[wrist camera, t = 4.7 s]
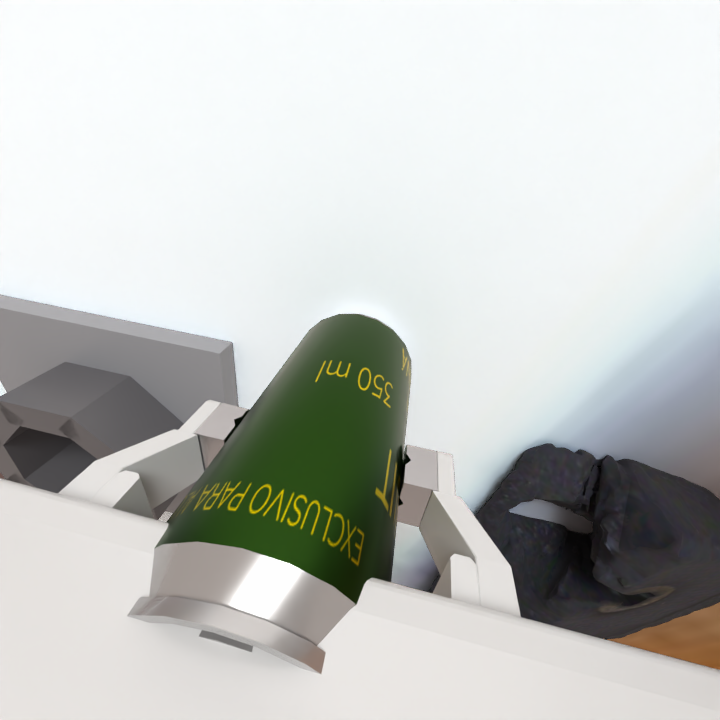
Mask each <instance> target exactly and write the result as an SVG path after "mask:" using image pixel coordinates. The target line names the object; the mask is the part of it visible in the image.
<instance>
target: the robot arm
mask: <svg viewBox="0 0 720 720" xmlns="http://www.w3.org/2000/svg"><path fill="white" fill-rule="evenodd" d="M249 411H250V410H249V409H246V408H242V407H238V406H234V405H230V404H226V403H221V402H217V401H213V400H208V401H206V402H205V403H204V404H203V405H202V406H201V407H200V408H199V409H198V410H197V411H196V412H195V413H194V414H193V415H192V416H191V417H190V418H189V419H188V420H187V421H186V422H185V423H184V425H183V426H182V427H181V428H180V429H179V430H175V429H173V430H171V431H168V432H166V433H163V434H161V435H158V436H156V437H153V438H151V439H148V440H146V441H143V442H141V443H138V444H136V445H133V446H131V447H128V448H126V449H123V450H121V451H119V452H116V453H114V454H111V455H109V456H106V457H104V458H101V459H99V460H96V461H94V462H93V463H92V464H91V465H90V466H89V467H87V468H86V469H85V470H84V471H83V472H82V473H81V474H79V475H78V476H77V477H76V478H75V479H74V480H73V481H71V482H70V483H69V484H68V485H67V486H66V487H65V488H63V489H62V490H61V491H60V492H59V493H54V492H51V491H47V490H43V489H39V488H36V487H32V486H28V485H24V484H21V483H17V482H13V481H9V480H6V479H1V478H0V720H720V670H718V669H714V668H710V667H707V666H703V665H699V664H695V663H692V662H688V661H684V660H680V659H677V658H673V657H669V656H665V655H661V654H658V653H654V652H650V651H646V650H643V649H639V648H635V647H631V646H628V645H624V644H620V643H616V642H613V641H609V640H605V639H601V638H598V637H594V636H590V635H586V634H583V633H579V632H575V631H571V630H568V629H564V628H560V627H556V626H553V625H549V624H545V623H541V622H538V621H534V620H530V619H526V618H523V617H521V615H520V610H519V605H518V600H517V594H516V589H515V584H514V579H513V574H512V569H511V566H510V565H509V563H508V562H507V561H506V559H505V558H504V556H503V555H502V554H501V552H500V551H499V549H498V548H497V547H496V545H495V544H494V543H493V541H492V540H491V538H490V537H489V536H488V534H487V533H486V531H485V530H484V529H483V527H482V526H481V525H480V523H479V522H478V520H477V519H476V518H475V516H474V515H473V513H472V512H471V511H470V509H469V508H468V507H467V505H466V504H465V502H464V501H463V500H462V498H461V497H458V496H456V490H455V477H454V463H453V456H452V454H449V453H444V452H439V451H434V450H430V449H425V448H420V447H416V446H411V445H406V447H405V451H404V457H403V465H402V475H401V485H400V495H399V505H398V516H397V521H399V522H402V523H406V524H410V525H413V526H417V527H419V530H420V532H421V534H422V536H423V538H424V540H425V543H426V545H427V547H428V549H429V551H430V553H431V556H432V558H433V560H434V562H435V564H436V566H437V568H438V571H439V573H440V575H441V577H440V579H439V581H438V583H437V585H436V587H435V589H434V591H433V593H429V592H425V591H422V590H418V589H414V588H410V587H407V586H403V585H399V584H395V583H392V582H388V581H384V580H380V579H377V578H370V579H369V580H367V581H366V583H365V584H364V587H363V589H362V592H361V595H360V597H359V600H358V602H357V605H356V606H354V607H353V608H351V609H350V610H349V611H348V613H347V614H346V615H345V616H344V617H343V618H342V619H341V620H340V621H339V622H338V623H337V625H336V626H335V627H334V628H333V629H332V630H331V631H330V632H329V633H328V634H327V636H326V637H325V638H324V639H323V640H322V641H321V642H320V643H319V644H318V645H317V647H319V648H320V649H322V650H323V651H324V652H326V654H325V659H324V664H323V669H322V674H318V673H315V672H311V671H308V670H305V669H301V668H299V667H297V666H295V665H293V664H291V663H289V662H287V661H284V660H282V659H280V658H278V657H276V656H274V655H272V654H270V653H267V652H265V651H263V650H261V649H259V648H257V647H254V646H253V650H252V652H249V651H245V650H242V649H239V648H235V647H232V646H229V645H225V644H222V643H219V642H215V641H212V640H209V639H205V638H202V637H199V634H200V633H201V631H202V630H199V629H194V628H190V627H185V626H180V625H175V624H165V623H148V622H145V621H141V620H138V619H135V618H131V617H128V616H127V615H128V613H129V612H130V611H131V609H132V608H133V606H134V605H135V603H136V602H137V600H138V599H139V598H140V597H149V593H150V585H151V576H152V568H153V559H154V548H155V547H156V545H157V543H158V542H159V540H160V539H161V537H162V536H163V534H164V533H165V531H166V529H167V527H168V523H167V522H163V521H159V520H155V518H154V516H153V513H152V509H154V508H155V507H157V506H158V505H160V504H161V503H163V502H164V501H166V500H168V499H169V498H171V497H172V496H174V495H175V494H177V493H178V492H180V491H182V490H183V489H185V488H186V487H188V486H189V485H191V484H192V483H194V482H196V481H197V480H198V479H199V478H200V477H201V475H202V474H203V473H204V471H205V470H206V469H207V467H208V466H209V464H210V463H211V462H212V460H213V459H214V458H215V456H216V455H217V454H218V452H219V451H220V450H221V448H222V447H223V446H224V444H225V443H226V442H227V440H228V439H229V438H230V436H231V435H232V434H233V432H234V431H235V430H236V428H237V427H238V425H239V424H240V423H241V421H242V420H243V419H244V417H245V416H246V415H247V413H248V412H249Z"/></svg>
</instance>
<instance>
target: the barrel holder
mask: <svg viewBox="0 0 720 720" xmlns="http://www.w3.org/2000/svg"><path fill="white" fill-rule="evenodd" d="M0 381H1V383H2V384H3V386H4V388H5V390H6V392H7V393H6V394H4V395H2V396H0V472H1V474H2V475H3V477H4V478H5V479H6V480H9V481H13V482H17V483H21V484H24V485H28V486H32V487H36V488H39V489H43V490H47V491H51V492H54V493H59V492H60V491H61V490H62V489H63V488H65V487H66V486H67V485H68V484H69V483H70V482H71V481H73V480H74V479H75V478H76V477H77V476H78V475H79V474H81V473H82V472H83V471H84V470H85V469H86V468H87V467H89V466H90V465H91V464H92V463H93V462H94V461H96V460H99V459H101V458H104V457H106V456H109V455H111V454H114V453H116V452H119V451H121V450H123V449H126V448H128V447H131V446H133V445H136V444H138V443H141V442H143V441H146V440H148V439H151V438H153V437H156V436H158V435H161V434H163V433H166V432H168V431H171V430H173V429H175V430H179V429H180V428H181V427H182V426H183V425H184V423H185V422H186V421H187V420H188V419H189V418H190V417H191V416H192V415H193V414H194V413H195V412H196V411H197V410H198V409H199V408H200V407H201V406H202V405H203V404H204V403H205V402H206V401H208V400H213V401H217V402H221V403H226V404H230V405H234V406H238V399H237V388H236V378H235V367H234V356H233V346H232V342H228V341H223V340H218V339H213V338H208V337H203V336H198V335H193V334H189V333H184V332H179V331H174V330H169V329H164V328H159V327H154V326H149V325H145V324H140V323H135V322H130V321H125V320H120V319H115V318H110V317H105V316H100V315H96V314H91V313H86V312H81V311H76V310H71V309H66V308H61V307H56V306H52V305H47V304H42V303H37V302H32V301H27V300H22V299H17V298H12V297H8V296H3V295H0ZM197 481H198V480H197ZM197 481H196V482H197ZM196 482H194V483H192V484H191V485H189V486H188V487H186V488H185V489H183V490H182V491H180V492H178V493H177V494H175V495H174V496H172V497H171V498H169V499H168V500H166V501H164V502H163V503H161V504H160V505H158V506H157V507H155V508H154V509H152V513H153V516H154V518H155V520H158V519H159V518H160V517H161V515H162V514H163V513H164V511H168V512H172V513H174V512H175V510H176V509H177V508H178V506H179V505H180V503H181V502H182V501H183V499H184V498H185V497H186V495H187V494H188V493H189V491H190V490H191V489H192V487H193V486H194V485H195V483H196Z"/></svg>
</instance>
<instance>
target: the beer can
mask: <svg viewBox="0 0 720 720" xmlns="http://www.w3.org/2000/svg"><path fill="white" fill-rule="evenodd" d="M410 384H411V359H410V356H409V353H408V351H407V348H406V345H405V344H404V342H403V341H402V340H401V339H400V338H399V336H398V335H397V334H396V333H395V332H394V330H392V329H391V328H390V327H388V326H387V325H385V324H384V323H382V322H381V321H379V320H378V319H376V318H372V317H369V316H365V315H362V314H338V315H335V316H332V317H329V318H326V319H323V320H321V321H320V322H319V323H318V324H316V325H315V326H314V327H313V328H311V329H310V330H309V331H308V333H307V334H306V335H305V337H304V338H303V339H302V341H301V342H300V343H299V345H298V346H297V348H296V349H295V350H294V352H293V353H292V354H291V356H290V357H289V358H288V360H287V361H286V362H285V364H284V365H283V366H282V368H281V369H280V370H279V372H278V373H277V374H276V376H275V377H274V378H273V380H272V381H271V382H270V384H269V385H268V387H267V388H266V389H265V391H264V392H263V393H262V395H261V396H260V397H259V399H258V400H257V401H256V403H255V404H254V405H253V407H252V408H251V409H250V411H249V412H248V413H247V415H246V416H245V417H244V419H243V420H242V421H241V423H240V424H239V425H238V427H237V428H236V430H235V431H234V432H233V434H232V435H231V436H230V438H229V439H228V440H227V442H226V443H225V444H224V446H223V447H222V448H221V450H220V451H219V452H218V454H217V455H216V456H215V458H214V459H213V460H212V462H211V463H210V464H209V466H208V467H207V469H206V470H205V471H204V473H203V474H202V475H201V477H200V478H199V479H198V481H197V482H196V483H195V485H194V486H193V487H192V489H191V490H190V491H189V493H188V494H187V495H186V497H185V498H184V499H183V501H182V502H181V503H180V505H179V506H178V508H177V509H176V510H175V512H174V513H173V514H172V516H171V517H170V518H169V520H168V521H167V523H168V527H167V529H166V531H165V533H164V534H163V536H162V537H161V539H160V540H159V542H158V543H157V545H156V547H155V548H154V559H153V568H152V576H151V585H150V593H149V597H140V598H139V599H138V600H137V602H136V603H135V605H134V606H133V608H132V609H131V611H130V612H129V613H128V615H127V616H128V617H131V618H135V619H138V620H141V621H145V622H148V623H165V624H175V625H180V626H185V627H190V628H194V629H199V630H202V631H201V633H200V634H199V637H202V638H205V639H209V640H212V641H215V642H219V643H222V644H225V645H229V646H232V647H235V648H239V649H242V650H245V651H249V652H252V650H253V646H254V647H257V648H259V649H261V650H263V651H265V652H267V653H270V654H272V655H274V656H276V657H278V658H280V659H282V660H284V661H287V662H289V663H291V664H293V665H295V666H297V667H299V668H301V669H305V670H308V671H311V672H315V673H318V674H322V669H323V664H324V659H325V654H326V652H324V651H323V650H322V649H320V648H319V647H317V645H318V644H319V643H320V642H321V641H322V640H323V639H324V638H325V637H326V636H327V634H328V633H329V632H330V631H331V630H332V629H333V628H334V627H335V626H336V625H337V623H338V622H339V621H340V620H341V619H342V618H343V617H344V616H345V615H346V614H347V613H348V611H349V610H350V609H351V608H353V607H354V606H356V605H357V602H358V600H359V597H360V595H361V592H362V589H363V587H364V584H365V583H366V581H367V580H369V579H370V578H377V579H380V580H384V581H388V582H391V576H392V566H393V556H394V546H395V536H396V526H397V516H398V505H399V495H400V485H401V475H402V465H403V455H404V445H405V435H406V424H407V414H408V404H409V394H410Z"/></svg>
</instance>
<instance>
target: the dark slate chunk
mask: <svg viewBox="0 0 720 720" xmlns="http://www.w3.org/2000/svg"><path fill="white" fill-rule="evenodd" d="M594 464H595V466H594V467H593V469H592V466H593V465H594ZM598 465H601V467H600V468H597V466H598ZM591 469H592V470H591ZM533 499H543V500H545V501H549V502H552V503H554V504H556V505H558V506H561V507H565V508H566V509H570V510H571V511H573V512H574V513H576V514H579V515H582V516H584V517H585V518H586V519H588V520H589V521H591V522H593V531H592V533H590V534H588V535H587V534H582V533H576V532H571V531H568V530H567V529H566V528H565V527H564V526H562V525H560V524H556V523H552V522H549V521H545V520H540V519H535V518H530V517H525V516H521V515H518V514H514V513H510V512H509V509H511V508H513V507H515V506H517V505H518V504H520V503H521V502H528V501H532V500H533ZM475 518H476V519H477V520H478V522H479V523H480V525H481V526H482V527H483V529H484V530H485V531H486V533H487V534H488V536H489V537H490V538H491V540H492V541H493V543H494V544H495V545H496V547H497V548H498V549H499V551H500V552H501V554H502V555H503V556H504V558H505V559H506V561H507V562H508V563H509V565H510V566H511V569H512V574H513V579H514V584H515V589H516V594H517V600H518V605H519V610H520V615H521V617H523V618H526V619H530V620H534V621H538V622H541V623H545V624H549V625H553V626H556V627H560V628H564V629H568V630H571V631H575V632H579V633H583V634H586V635H590V636H594V637H598V638H601V639H603V638H604V639H606V640H607V639H614V638H622V637H625V636H627V635H629V634H632V633H635V632H638V631H640V630H642V629H643V628H647V627H653V626H657V625H659V624H662V623H665V622H668V621H670V620H672V619H674V618H677V617H681V616H685V615H688V614H690V613H692V612H694V611H697V610H700V609H703V608H706V607H709V606H712V605H714V604H717V603H719V602H720V500H719V499H718V498H717V497H716V496H715V495H714V494H713V493H711V492H710V491H709V490H707V489H706V488H703V487H701V486H699V485H696V484H694V483H691V482H689V481H687V480H685V479H683V478H681V477H677V476H674V475H670V474H668V473H666V472H663V471H660V470H657V469H654V468H652V467H650V466H647V465H645V464H642V463H640V462H637V461H634V460H630V459H622V460H619V461H615V460H614V459H613V458H612V457H611V456H609V455H607V456H606V457H605V458H604V459H599V460H596V459H595V458H594V455H592V454H590V453H588V452H586V451H584V450H578V451H576V452H575V453H574V452H572V451H570V450H568V449H566V448H556V447H555V446H554V445H553V444H548V443H547V444H544V445H542V446H538V447H533V448H530V449H528V450H526V451H525V452H524V453H523V455H522V458H520V459H519V460H518V462H517V464H516V466H515V470H514V471H513V472H512V473H511V474H509V475H508V476H507V478H506V479H505V480H504V481H503V482H502V484H501V487H500V488H499V489H498V490H497V491H496V492H495V493H494V495H493V497H492V498H491V499H490V500H489V501H488V502H487V503H486V505H485V506H484V507H483V508H482V509H481V510H480V511H479V512H478V513H477V515H476V516H475ZM440 577H441V575H440V573H439V576H438V577H437V579H436V580H435V581H434V583H433V585H432V587H431V589H430V591H429V593H433V591H434V589H435V587H436V585H437V583H438V581H439V579H440Z"/></svg>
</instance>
